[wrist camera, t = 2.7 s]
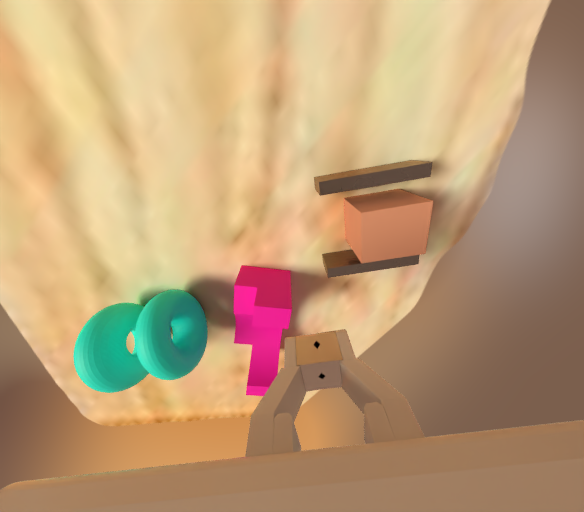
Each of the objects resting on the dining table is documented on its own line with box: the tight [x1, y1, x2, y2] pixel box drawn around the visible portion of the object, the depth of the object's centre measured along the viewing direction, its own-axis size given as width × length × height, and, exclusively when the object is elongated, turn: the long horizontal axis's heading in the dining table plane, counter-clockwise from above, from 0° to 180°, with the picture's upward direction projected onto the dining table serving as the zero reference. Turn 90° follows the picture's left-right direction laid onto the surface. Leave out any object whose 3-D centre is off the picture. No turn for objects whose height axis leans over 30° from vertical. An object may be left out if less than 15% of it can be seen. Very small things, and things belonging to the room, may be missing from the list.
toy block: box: [234, 265, 292, 396], centre depth 27 cm, size 15×6×8 cm, turn 171°
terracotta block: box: [344, 189, 433, 263], centre depth 21 cm, size 5×6×6 cm
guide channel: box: [314, 160, 432, 278], centre depth 22 cm, size 10×10×4 cm
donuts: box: [74, 290, 208, 393], centre depth 25 cm, size 10×10×10 cm
